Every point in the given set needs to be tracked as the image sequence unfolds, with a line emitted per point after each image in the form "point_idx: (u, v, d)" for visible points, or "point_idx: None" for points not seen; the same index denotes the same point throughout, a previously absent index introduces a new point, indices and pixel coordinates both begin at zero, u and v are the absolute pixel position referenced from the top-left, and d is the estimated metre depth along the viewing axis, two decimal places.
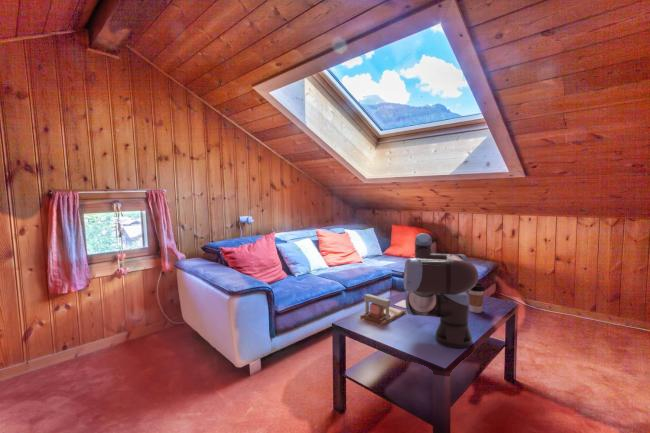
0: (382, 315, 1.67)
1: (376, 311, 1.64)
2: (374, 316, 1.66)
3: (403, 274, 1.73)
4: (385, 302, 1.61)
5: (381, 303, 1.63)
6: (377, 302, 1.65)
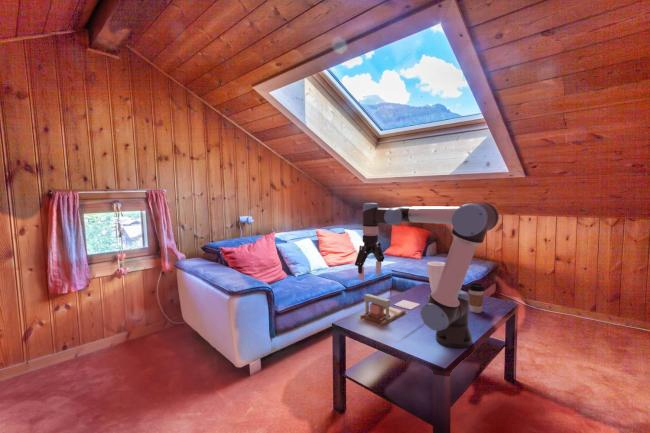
0: (382, 315, 1.67)
1: (376, 311, 1.64)
2: (374, 316, 1.66)
3: (358, 261, 1.54)
4: (385, 302, 1.61)
5: (381, 303, 1.63)
6: (377, 302, 1.65)
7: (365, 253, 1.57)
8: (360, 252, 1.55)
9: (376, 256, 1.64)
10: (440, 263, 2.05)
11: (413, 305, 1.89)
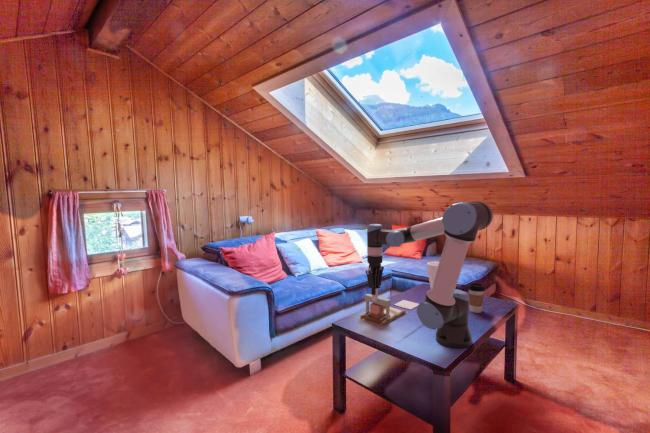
0: (382, 315, 1.67)
1: (376, 311, 1.64)
2: (374, 316, 1.66)
3: (371, 285, 1.61)
4: (385, 302, 1.62)
5: (381, 303, 1.63)
6: (377, 302, 1.65)
7: (373, 275, 1.63)
8: (368, 276, 1.61)
9: None
10: None
11: (413, 305, 1.89)
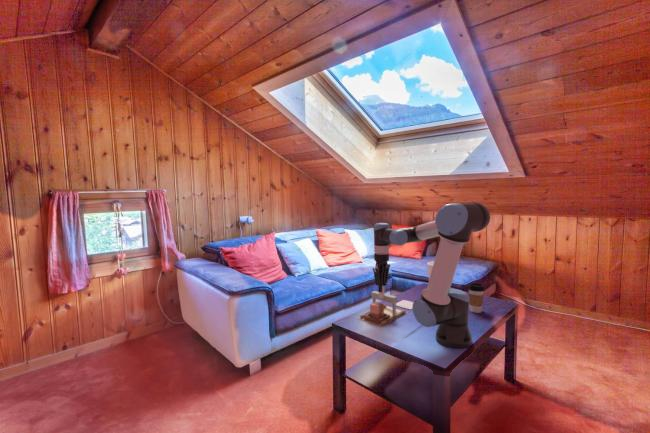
0: (382, 315, 1.67)
1: (376, 311, 1.64)
2: (374, 316, 1.66)
3: (378, 282, 1.66)
4: (392, 299, 1.66)
5: (388, 300, 1.68)
6: (384, 299, 1.69)
7: (380, 273, 1.67)
8: (375, 274, 1.65)
9: None
10: None
11: None
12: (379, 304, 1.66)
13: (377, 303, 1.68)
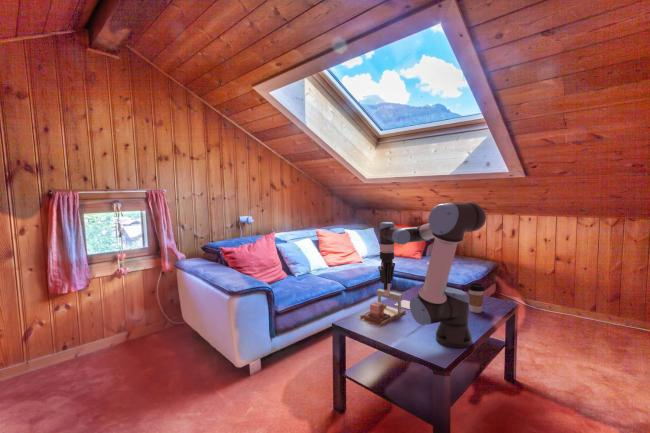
0: (382, 315, 1.67)
1: (376, 311, 1.64)
2: (374, 316, 1.66)
3: (383, 280, 1.69)
4: (397, 296, 1.69)
5: (393, 297, 1.71)
6: (389, 296, 1.73)
7: (385, 271, 1.70)
8: (381, 272, 1.68)
9: None
10: None
11: None
12: (379, 304, 1.66)
13: (377, 303, 1.68)
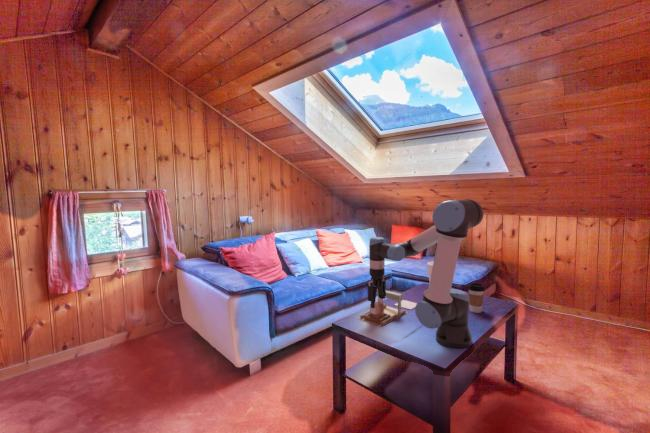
0: (382, 315, 1.67)
1: (376, 311, 1.64)
2: (374, 316, 1.66)
3: (370, 298, 1.62)
4: (397, 296, 1.69)
5: (393, 297, 1.71)
6: (389, 296, 1.73)
7: (374, 287, 1.64)
8: (369, 288, 1.62)
9: (379, 291, 1.68)
10: None
11: (413, 305, 1.89)
12: (379, 304, 1.66)
13: (377, 303, 1.68)
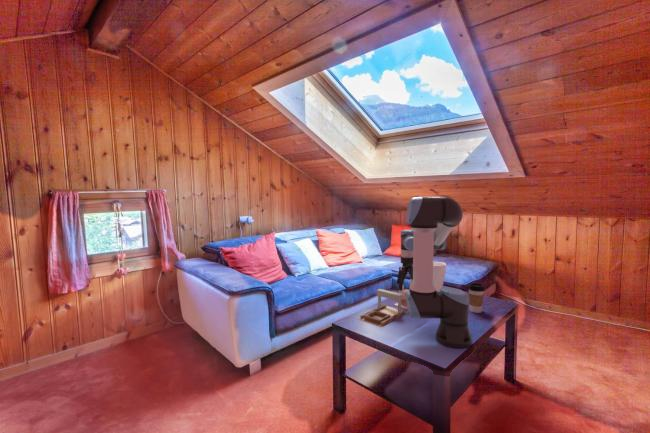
0: None
1: None
2: (404, 301, 1.89)
3: (399, 280, 1.83)
4: (397, 296, 1.69)
5: (393, 297, 1.71)
6: (389, 296, 1.73)
7: (404, 273, 1.86)
8: (400, 272, 1.84)
9: (411, 275, 1.93)
10: (440, 263, 2.05)
11: None
12: None
13: (407, 290, 1.91)
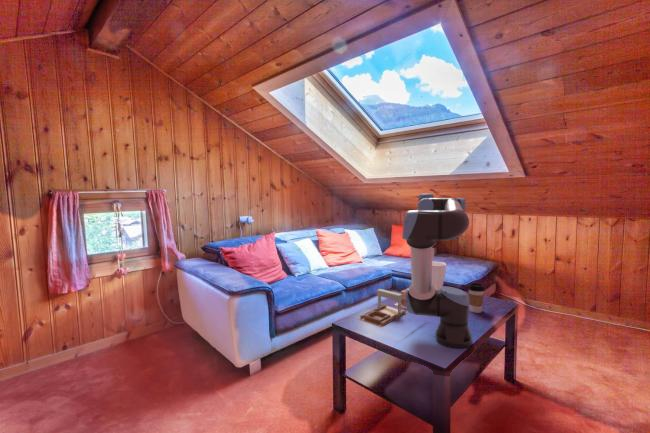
0: None
1: None
2: (404, 301, 1.89)
3: None
4: (397, 296, 1.69)
5: (393, 297, 1.71)
6: (389, 296, 1.73)
7: None
8: None
9: None
10: (440, 263, 2.05)
11: None
12: None
13: None
